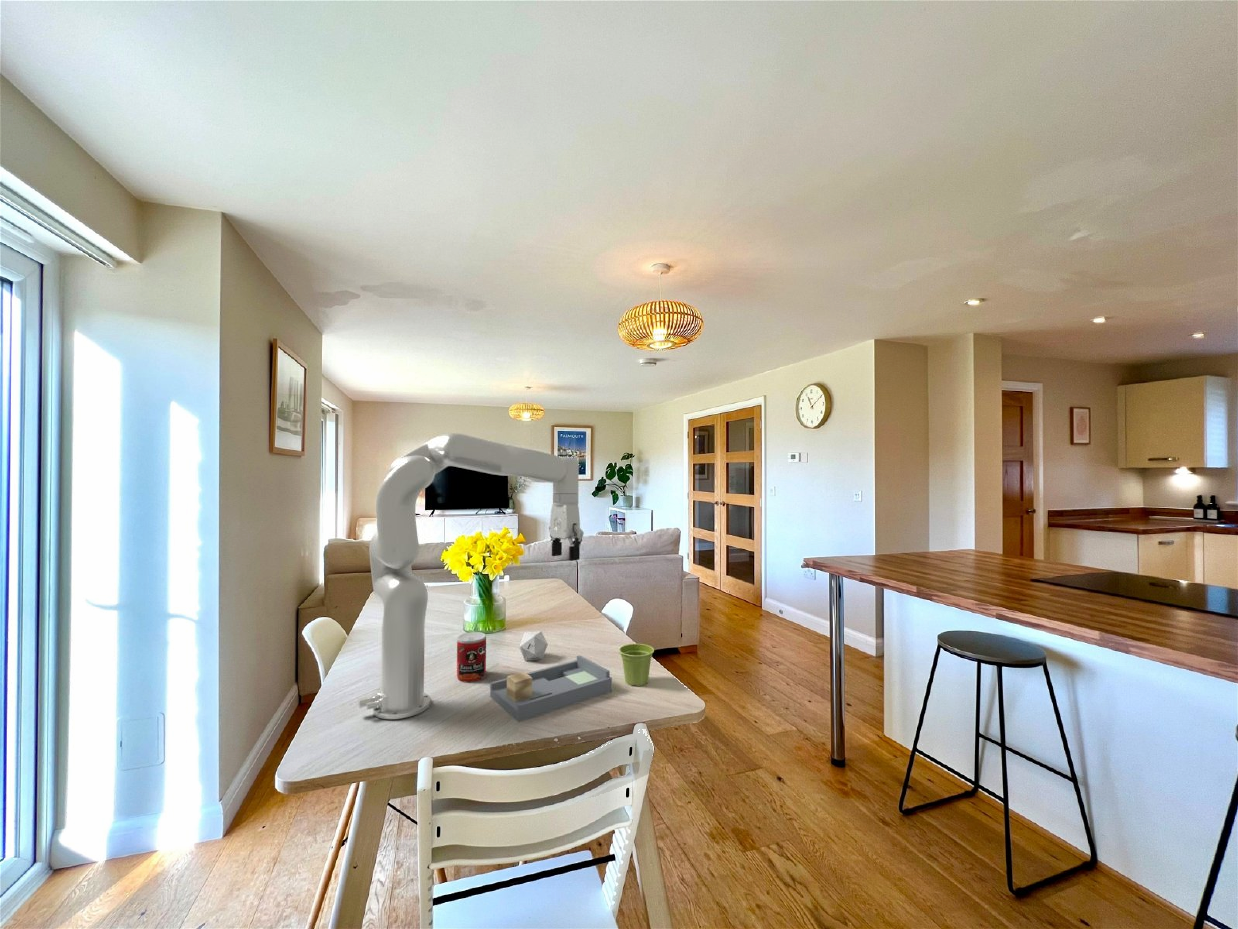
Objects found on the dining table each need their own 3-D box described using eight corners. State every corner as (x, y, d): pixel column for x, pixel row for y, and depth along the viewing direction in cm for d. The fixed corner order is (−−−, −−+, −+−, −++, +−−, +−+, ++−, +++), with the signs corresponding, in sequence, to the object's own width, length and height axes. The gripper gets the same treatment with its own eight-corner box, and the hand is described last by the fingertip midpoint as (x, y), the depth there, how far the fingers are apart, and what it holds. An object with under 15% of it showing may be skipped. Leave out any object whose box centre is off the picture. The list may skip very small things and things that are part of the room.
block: (514, 701, 118) (515, 682, 118) (506, 694, 122) (506, 676, 122) (532, 696, 121) (532, 677, 121) (523, 690, 125) (523, 671, 125)
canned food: (456, 684, 133) (456, 642, 133) (457, 672, 141) (457, 633, 141) (486, 681, 135) (486, 639, 135) (485, 669, 143) (486, 630, 143)
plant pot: (632, 692, 128) (632, 658, 129) (612, 679, 136) (612, 647, 136) (661, 684, 134) (661, 651, 134) (640, 672, 141) (640, 641, 142)
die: (513, 660, 152) (514, 640, 147) (528, 639, 159) (530, 619, 153) (536, 672, 150) (538, 653, 145) (551, 650, 157) (553, 631, 151)
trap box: (519, 721, 113) (519, 699, 113) (490, 696, 125) (490, 676, 126) (611, 691, 129) (611, 672, 129) (577, 672, 141) (577, 654, 141)
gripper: (539, 498, 152) (539, 555, 152) (570, 501, 139) (570, 563, 138) (561, 498, 157) (560, 553, 157) (592, 500, 143) (592, 560, 143)
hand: (565, 557), depth 147 cm, fingers open, 9 cm apart
